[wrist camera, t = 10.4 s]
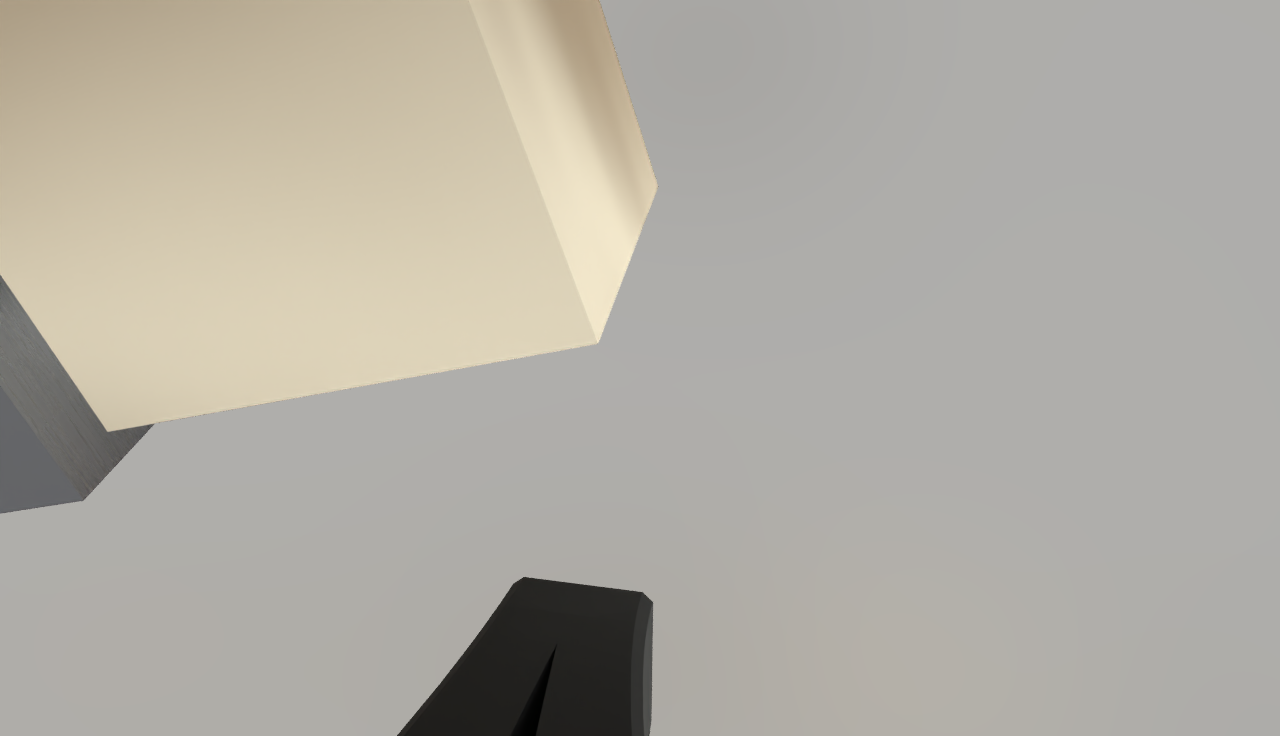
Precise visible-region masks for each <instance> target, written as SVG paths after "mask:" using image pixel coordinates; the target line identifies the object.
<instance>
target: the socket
mask: <svg viewBox="0 0 1280 736" xmlns="http://www.w3.org/2000/svg"><path fill="white" fill-rule="evenodd" d="M153 425H154V424H149V425H143V426H138V427H132V428H127V429H121V430H116V431H110V432H107V430H106V429H105V427H104V426H103V424H102V423H101V421H100V420H99V418H98V417H97V416H96V414H95V413H94V411H93V410H92V408H91V407H90V405H89V404H88V402H87V401H86V399H85V398H84V396H83V395H82V394H81V392H80V391H79V389H78V388H77V386H76V385H75V383H74V382H73V380H72V379H71V377H70V376H69V374H68V373H67V372H66V370H65V369H64V367H63V366H62V364H61V363H60V361H59V360H58V358H57V357H56V355H55V354H54V353H53V351H52V350H51V348H50V347H49V345H48V344H47V342H46V341H45V339H44V338H43V336H42V335H41V333H40V332H39V331H38V329H37V328H36V326H35V325H34V323H33V322H32V320H31V319H30V317H29V316H28V314H27V313H26V311H25V310H24V309H23V307H22V306H21V304H20V303H19V301H18V300H17V298H16V297H15V295H14V294H13V292H12V291H11V289H10V288H9V287H8V285H7V284H6V282H5V281H4V279H3V278H2V276H1V275H0V513H6V512H13V511H19V510H26V509H32V508H38V507H45V506H51V505H58V504H64V503H70V502H77V501H83V500H84V499H85V498H86V497H87V496H88V495H89V494H90V493H91V492H92V491H93V490H94V488H96V486H97V485H98V484H99V483H100V482H101V481H102V480H103V479H104V478H105V477H106V476H107V474H108V473H109V472H110V471H111V470H112V469H113V468H114V467H115V466H116V465H117V464H118V463H119V462H120V460H122V458H123V457H124V456H125V455H126V454H127V453H128V452H129V451H130V450H131V449H132V448H133V447H134V445H135V444H136V443H137V442H138V441H139V440H140V439H141V438H142V437H143V435H144V434H146V433H147V431H148V430H149V429H150V428H151V427H152V426H153Z"/></svg>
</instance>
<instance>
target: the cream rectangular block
mask: <svg viewBox="0 0 1280 736" xmlns="http://www.w3.org/2000/svg"><path fill="white" fill-rule="evenodd" d="M657 189H658V184H657V181H656V178H655V175H654V171H653V168H652V165H651V162H650V159H649V156H648V152H647V149H646V146H645V143H644V140H643V137H642V133H641V130H640V127H639V124H638V121H637V118H636V114H635V112H634V108H633V105H632V102H631V99H630V96H629V92H628V90H627V86H626V83H625V80H624V76H623V73H622V70H621V67H620V64H619V61H618V58H617V54H616V51H615V48H614V45H613V42H612V39H611V36H610V32H609V29H608V26H607V23H606V20H605V17H604V14H603V10H602V7H601V4H600V1H599V0H0V275H1V276H2V278H3V279H4V281H5V282H6V284H7V285H8V287H9V288H10V289H11V291H12V292H13V294H14V295H15V297H16V298H17V300H18V301H19V303H20V304H21V306H22V307H23V309H24V310H25V311H26V313H27V314H28V316H29V317H30V319H31V320H32V322H33V323H34V325H35V326H36V328H37V329H38V331H39V332H40V333H41V335H42V336H43V338H44V339H45V341H46V342H47V344H48V345H49V347H50V348H51V350H52V351H53V353H54V354H55V355H56V357H57V358H58V360H59V361H60V363H61V364H62V366H63V367H64V369H65V370H66V372H67V373H68V374H69V376H70V377H71V379H72V380H73V382H74V383H75V385H76V386H77V388H78V389H79V391H80V392H81V394H82V395H83V396H84V398H85V399H86V401H87V402H88V404H89V405H90V407H91V408H92V410H93V411H94V413H95V414H96V416H97V417H98V418H99V420H100V421H101V423H102V424H103V426H104V427H105V429H106V430H107V432H110V431H116V430H121V429H127V428H132V427H138V426H143V425H149V424H155V423H160V422H165V421H171V420H177V419H182V418H188V417H193V416H199V415H205V414H210V413H215V412H221V411H227V410H233V409H238V408H244V407H249V406H255V405H260V404H266V403H271V402H277V401H283V400H288V399H294V398H299V397H305V396H310V395H316V394H322V393H327V392H332V391H338V390H344V389H349V388H355V387H360V386H366V385H372V384H377V383H382V382H389V381H394V380H400V379H405V378H411V377H416V376H421V375H428V374H433V373H439V372H444V371H450V370H455V369H461V368H467V367H472V366H477V365H483V364H489V363H494V362H500V361H505V360H511V359H517V358H522V357H527V356H533V355H539V354H544V353H550V352H555V351H561V350H567V349H572V348H578V347H584V346H589V345H595V344H598V343H599V340H600V338H601V335H602V333H603V330H604V327H605V325H606V322H607V319H608V317H609V314H610V311H611V309H612V306H613V304H614V301H615V299H616V296H617V293H618V290H619V288H620V285H621V283H622V280H623V277H624V275H625V272H626V270H627V267H628V264H629V262H630V259H631V256H632V254H633V251H634V249H635V246H636V244H637V241H638V238H639V235H640V233H641V231H642V228H643V225H644V223H645V220H646V217H647V215H648V212H649V209H650V207H651V204H652V202H653V199H654V197H655V194H656V191H657Z"/></svg>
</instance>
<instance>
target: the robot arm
mask: <svg viewBox="0 0 1280 736" xmlns="http://www.w3.org/2000/svg"><path fill="white" fill-rule="evenodd" d="M652 633H653V602H652V601H651V600H650V599H649V598H648V597H647V596H646V595H645V594H644V593H643V592H636V591H629V590H621V589H613V588H605V587H597V586H590V585H582V584H574V583H566V582H558V581H550V580H543V579H535V578H527V577H523V578H522V579H520V580H519V581H517V582H516V583H514V584H513V585H512V587H511V588H510V590H509V591H508V593H507V594H506V596H505V597H504V599H503V600H502V602H501V603H500V605H499V606H498V607H497V609H496V610H495V611H494V613H493V614H492V616H491V617H490V618H489V620H488V621H487V623H486V624H485V626H484V627H483V628H482V630H481V631H480V632H479V634H478V635H477V636H476V638H475V639H474V640H473V642H472V643H471V645H470V646H469V647H468V648H467V650H466V651H465V652H464V654H463V655H462V656H461V658H460V659H459V660H458V662H457V663H456V664H455V665H454V667H453V668H452V669H451V670H450V672H449V673H448V674H447V676H446V677H445V678H444V679H443V681H442V682H441V683H440V685H439V686H438V687H437V688H436V689H435V691H434V692H433V693H432V694H431V695H430V697H429V698H428V699H427V700H426V702H425V703H424V704H423V705H422V706H421V707H420V709H419V710H418V711H417V712H416V714H415V715H414V716H413V717H412V718H411V720H410V721H409V722H408V723H407V724H406V726H405V727H404V728H403V729H402V730H401V732H400V733H399V734H398V735H397V736H649V734H650V726H651V706H652V705H651V704H652Z"/></svg>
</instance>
